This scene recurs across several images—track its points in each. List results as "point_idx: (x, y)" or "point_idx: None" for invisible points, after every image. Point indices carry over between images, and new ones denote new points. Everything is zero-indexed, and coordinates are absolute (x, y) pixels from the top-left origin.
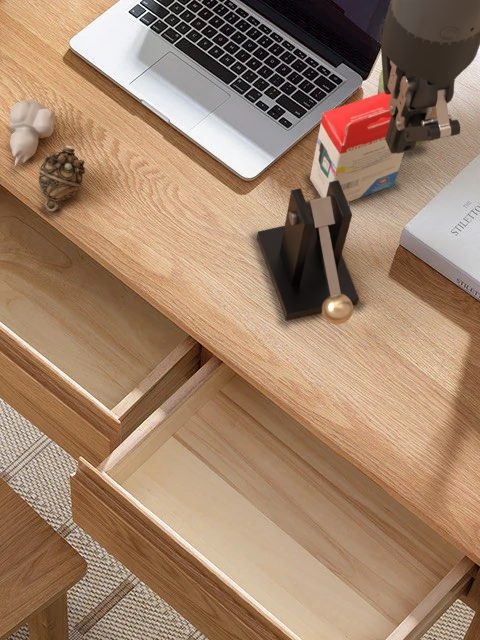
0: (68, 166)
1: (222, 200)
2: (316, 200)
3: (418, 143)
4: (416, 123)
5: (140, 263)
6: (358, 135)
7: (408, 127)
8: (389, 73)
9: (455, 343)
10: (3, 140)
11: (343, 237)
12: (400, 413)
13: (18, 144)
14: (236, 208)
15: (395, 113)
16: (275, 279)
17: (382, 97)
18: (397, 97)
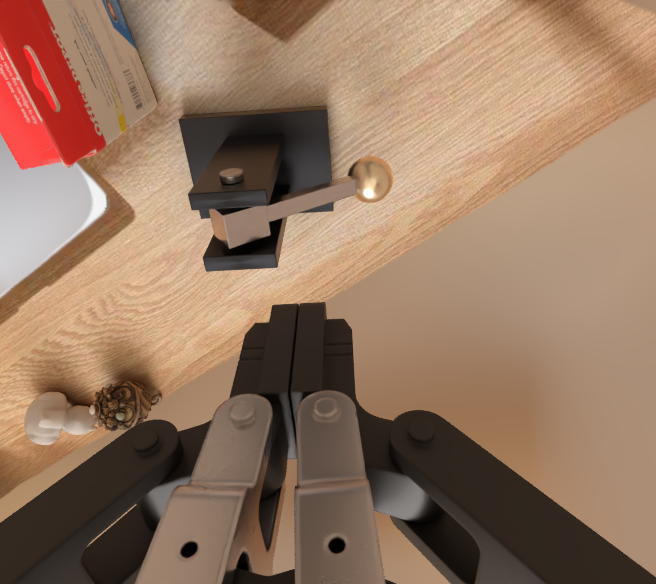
0: (121, 417)
1: (144, 239)
2: (229, 238)
3: None
4: (388, 499)
5: (231, 335)
6: (76, 126)
7: (417, 548)
8: (136, 577)
9: None
10: None
11: (274, 171)
12: (508, 91)
13: (84, 432)
14: (156, 226)
15: (284, 482)
16: None
17: None
18: (270, 575)
